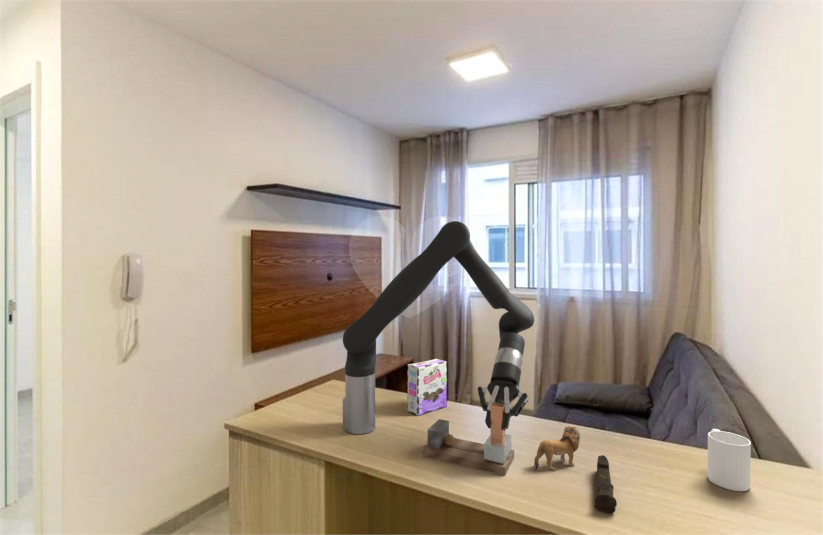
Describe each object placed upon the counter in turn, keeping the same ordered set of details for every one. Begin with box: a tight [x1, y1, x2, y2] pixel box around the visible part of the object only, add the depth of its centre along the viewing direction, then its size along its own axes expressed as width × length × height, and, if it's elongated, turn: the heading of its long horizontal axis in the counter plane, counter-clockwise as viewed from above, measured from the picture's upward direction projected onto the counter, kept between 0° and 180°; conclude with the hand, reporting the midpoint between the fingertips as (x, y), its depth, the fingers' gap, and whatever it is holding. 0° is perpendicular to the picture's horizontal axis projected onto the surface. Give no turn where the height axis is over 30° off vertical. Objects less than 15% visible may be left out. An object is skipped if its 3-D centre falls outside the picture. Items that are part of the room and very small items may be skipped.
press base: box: [422, 418, 515, 477], centre depth 108 cm, size 22×10×7 cm, turn 63°
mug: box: [707, 428, 752, 492], centre depth 97 cm, size 12×8×10 cm, turn 164°
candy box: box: [406, 358, 448, 416], centre depth 143 cm, size 14×6×16 cm, turn 129°
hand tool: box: [594, 454, 618, 514], centre depth 92 cm, size 19×4×5 cm, turn 154°
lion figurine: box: [533, 424, 581, 472], centre depth 103 cm, size 15×5×9 cm, turn 118°
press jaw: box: [483, 402, 512, 464], centre depth 104 cm, size 5×8×13 cm, turn 153°
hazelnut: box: [444, 433, 455, 446], centre depth 110 cm, size 3×3×3 cm
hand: (496, 427), depth 102 cm, fingers closed on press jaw, 3 cm apart
